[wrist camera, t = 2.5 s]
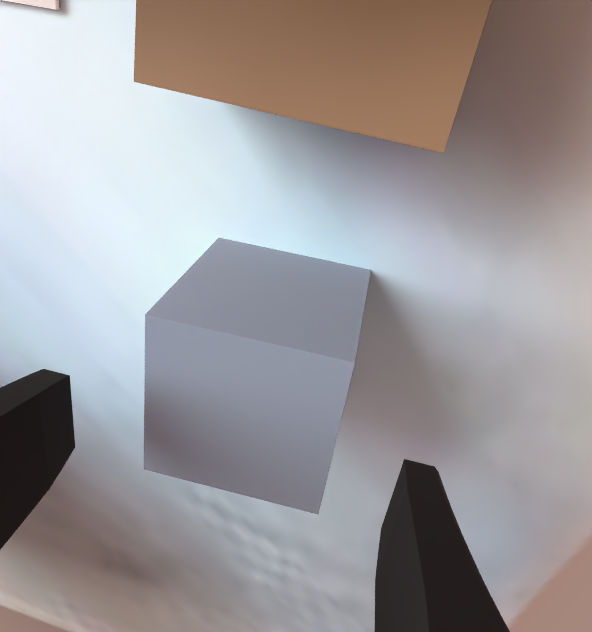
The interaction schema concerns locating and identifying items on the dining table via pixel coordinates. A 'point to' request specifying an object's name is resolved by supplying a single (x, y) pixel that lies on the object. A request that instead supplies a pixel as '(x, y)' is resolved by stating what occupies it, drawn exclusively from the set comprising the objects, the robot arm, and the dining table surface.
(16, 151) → the dining table surface
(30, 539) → the dining table surface
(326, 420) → the slate brick
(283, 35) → the walnut brick
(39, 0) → the page
